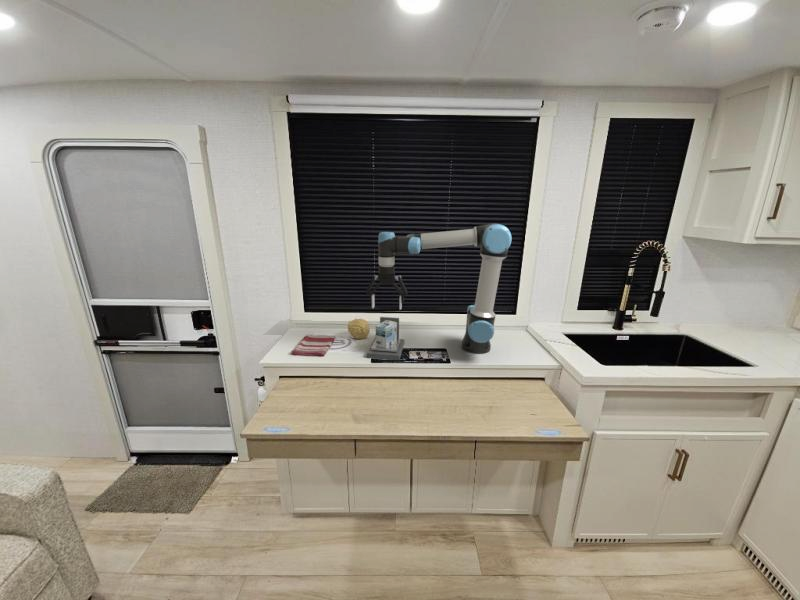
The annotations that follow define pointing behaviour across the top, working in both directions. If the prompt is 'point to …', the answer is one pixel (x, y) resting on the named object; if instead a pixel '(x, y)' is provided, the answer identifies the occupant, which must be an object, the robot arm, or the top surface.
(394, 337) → the light bulb box
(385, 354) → the scale base
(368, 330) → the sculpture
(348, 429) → the top surface
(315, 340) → the dish towel
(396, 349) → the pan
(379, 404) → the top surface
